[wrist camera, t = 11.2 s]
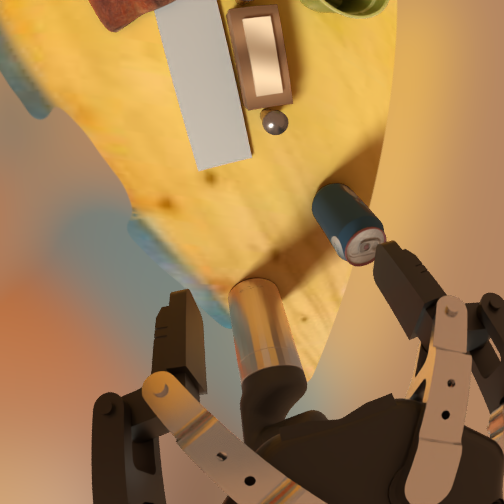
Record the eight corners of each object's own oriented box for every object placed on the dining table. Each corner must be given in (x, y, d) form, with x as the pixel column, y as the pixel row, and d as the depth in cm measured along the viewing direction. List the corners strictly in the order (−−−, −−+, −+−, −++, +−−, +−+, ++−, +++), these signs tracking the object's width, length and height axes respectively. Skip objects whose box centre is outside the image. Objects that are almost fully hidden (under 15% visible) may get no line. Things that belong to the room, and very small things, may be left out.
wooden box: (282, 98, 32) (294, 104, 28) (243, 104, 32) (249, 111, 28) (268, 10, 24) (278, 3, 20) (225, 15, 24) (229, 8, 20)
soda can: (307, 222, 44) (337, 274, 34) (310, 181, 39) (345, 227, 30) (347, 217, 44) (383, 265, 35) (353, 178, 40) (396, 221, 31)
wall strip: (251, 156, 36) (252, 157, 35) (198, 169, 36) (198, 171, 35) (208, -30, 19) (208, -32, 19) (148, -15, 19) (147, -16, 19)
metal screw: (279, 123, 33) (289, 132, 30) (258, 127, 33) (265, 137, 30) (276, 103, 32) (286, 109, 28) (254, 107, 32) (261, 113, 28)
